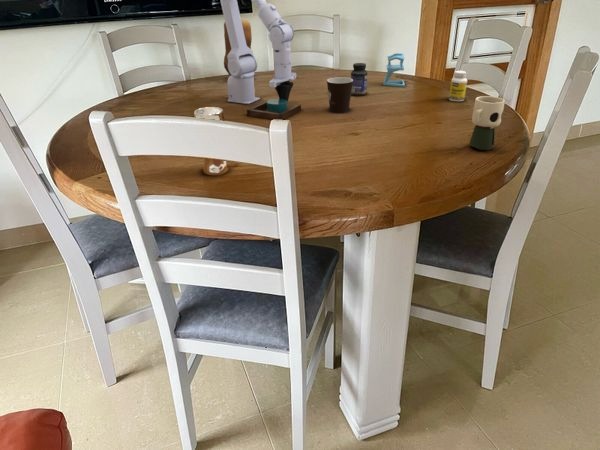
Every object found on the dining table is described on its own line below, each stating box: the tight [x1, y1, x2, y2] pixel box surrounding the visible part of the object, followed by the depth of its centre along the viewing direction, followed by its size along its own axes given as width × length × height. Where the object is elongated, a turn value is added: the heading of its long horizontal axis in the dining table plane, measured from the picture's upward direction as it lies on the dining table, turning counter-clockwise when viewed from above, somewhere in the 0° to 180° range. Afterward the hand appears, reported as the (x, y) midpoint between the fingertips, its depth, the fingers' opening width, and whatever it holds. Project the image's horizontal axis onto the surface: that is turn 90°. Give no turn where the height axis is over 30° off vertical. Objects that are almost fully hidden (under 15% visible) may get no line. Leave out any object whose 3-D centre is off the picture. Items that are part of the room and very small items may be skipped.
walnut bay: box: [246, 99, 302, 121], centre depth 155 cm, size 13×13×2 cm
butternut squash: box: [223, 16, 253, 77], centre depth 194 cm, size 14×13×25 cm
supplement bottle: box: [448, 70, 468, 103], centre depth 163 cm, size 5×5×10 cm
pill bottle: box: [350, 62, 368, 97], centre depth 172 cm, size 6×6×11 cm
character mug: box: [468, 95, 506, 151], centre depth 120 cm, size 11×7×13 cm, turn 130°
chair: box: [382, 52, 406, 88], centre depth 184 cm, size 8×8×12 cm
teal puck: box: [266, 98, 289, 113], centre depth 156 cm, size 7×7×4 cm
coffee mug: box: [326, 76, 353, 114], centre depth 156 cm, size 12×9×10 cm
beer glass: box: [193, 106, 229, 176], centre depth 110 cm, size 7×7×15 cm
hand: (284, 104), depth 160 cm, fingers closed
